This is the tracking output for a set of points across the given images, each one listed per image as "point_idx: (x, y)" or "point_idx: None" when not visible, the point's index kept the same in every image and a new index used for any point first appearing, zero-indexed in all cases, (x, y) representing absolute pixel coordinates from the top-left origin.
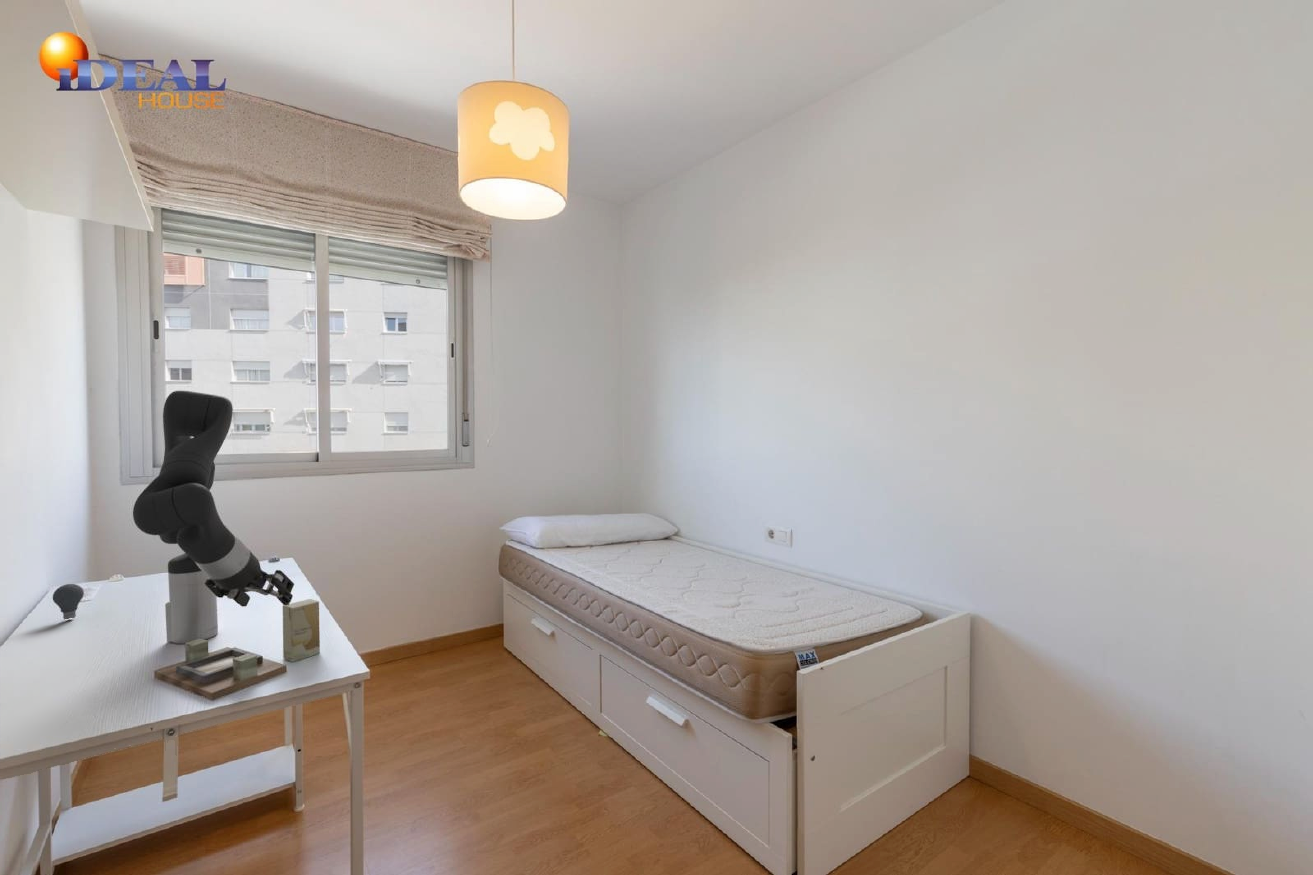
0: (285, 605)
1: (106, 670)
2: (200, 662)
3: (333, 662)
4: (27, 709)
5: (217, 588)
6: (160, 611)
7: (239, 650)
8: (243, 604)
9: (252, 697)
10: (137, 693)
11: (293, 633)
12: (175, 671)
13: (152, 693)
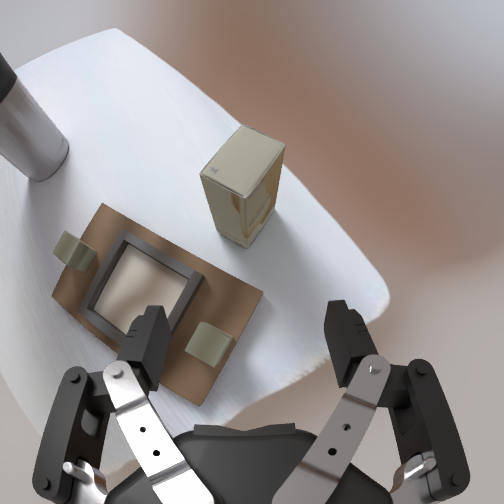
0: (209, 175)
1: (7, 264)
2: (99, 286)
3: (327, 251)
4: (6, 369)
5: (96, 457)
6: None
7: (139, 243)
8: (167, 348)
9: (266, 394)
10: (70, 352)
11: (248, 226)
12: (78, 304)
13: (88, 357)
